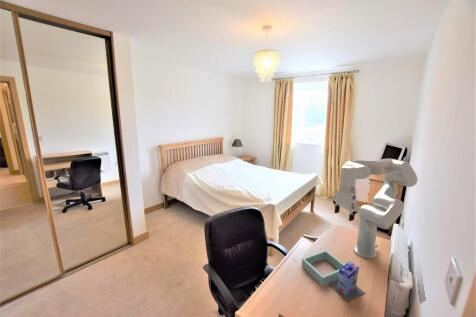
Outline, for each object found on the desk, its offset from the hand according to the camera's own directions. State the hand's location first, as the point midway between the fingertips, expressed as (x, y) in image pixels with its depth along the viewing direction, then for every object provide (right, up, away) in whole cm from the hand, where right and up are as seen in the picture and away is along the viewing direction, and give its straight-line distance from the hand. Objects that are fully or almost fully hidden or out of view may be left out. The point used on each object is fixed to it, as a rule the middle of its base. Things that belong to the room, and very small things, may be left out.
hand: (343, 216), depth 119 cm
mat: (-4, -34, -11) cm, 36 cm away
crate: (-11, -31, +1) cm, 33 cm away
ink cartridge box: (-4, -34, -11) cm, 36 cm away
